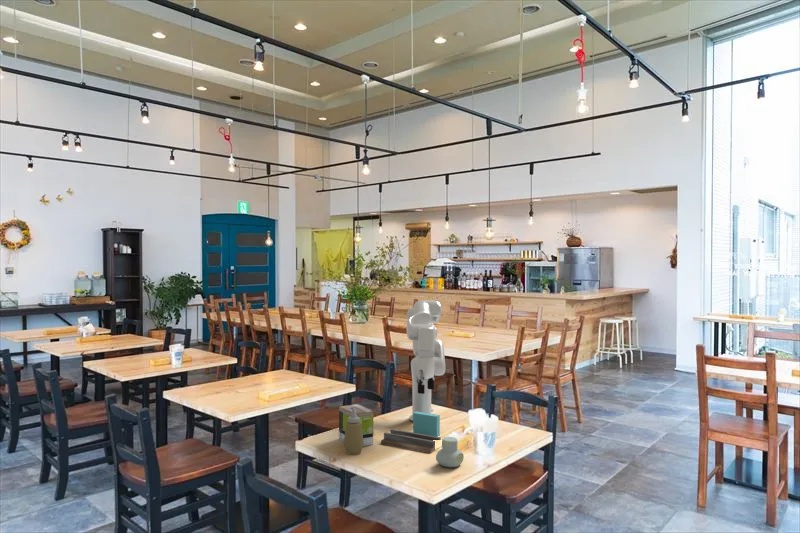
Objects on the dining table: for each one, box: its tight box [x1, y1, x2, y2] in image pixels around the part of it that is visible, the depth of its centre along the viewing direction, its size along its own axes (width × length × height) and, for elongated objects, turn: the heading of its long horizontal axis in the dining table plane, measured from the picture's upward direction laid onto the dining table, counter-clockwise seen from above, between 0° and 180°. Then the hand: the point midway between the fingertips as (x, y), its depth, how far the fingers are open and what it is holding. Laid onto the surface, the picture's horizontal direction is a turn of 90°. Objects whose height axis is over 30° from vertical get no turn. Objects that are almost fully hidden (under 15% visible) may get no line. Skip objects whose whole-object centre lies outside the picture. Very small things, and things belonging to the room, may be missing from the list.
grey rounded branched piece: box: [435, 436, 464, 468], centre depth 203 cm, size 11×8×10 cm
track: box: [380, 428, 442, 454], centre depth 227 cm, size 12×24×4 cm, turn 61°
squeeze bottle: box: [343, 408, 364, 456], centre depth 217 cm, size 8×8×18 cm
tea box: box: [338, 403, 375, 447], centre depth 230 cm, size 15×10×15 cm, turn 32°
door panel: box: [412, 412, 441, 437], centre depth 239 cm, size 3×12×10 cm, turn 61°
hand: (426, 391), depth 239 cm, fingers open, 9 cm apart
